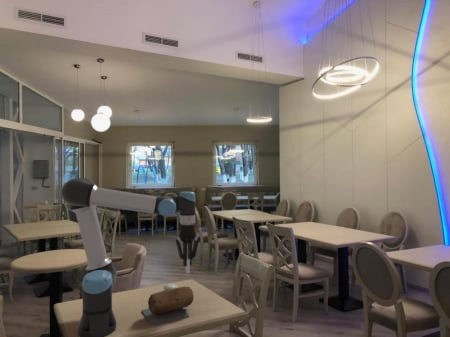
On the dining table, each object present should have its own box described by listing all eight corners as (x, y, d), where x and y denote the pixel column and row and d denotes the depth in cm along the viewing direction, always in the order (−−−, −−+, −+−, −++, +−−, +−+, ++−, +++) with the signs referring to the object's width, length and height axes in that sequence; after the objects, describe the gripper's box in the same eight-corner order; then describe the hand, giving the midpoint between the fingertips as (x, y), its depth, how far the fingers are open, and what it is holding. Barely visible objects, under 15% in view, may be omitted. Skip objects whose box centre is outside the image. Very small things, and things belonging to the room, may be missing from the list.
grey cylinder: (166, 305, 168) (166, 289, 168) (161, 300, 174) (161, 285, 174) (179, 302, 171) (179, 286, 171) (174, 297, 178) (174, 282, 178)
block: (191, 283, 163) (150, 291, 153) (196, 298, 158) (154, 307, 148) (185, 295, 169) (145, 303, 159) (189, 309, 164) (149, 318, 154)
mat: (150, 325, 147) (150, 323, 147) (141, 311, 161) (141, 310, 161) (189, 316, 155) (189, 315, 155) (177, 304, 169) (177, 303, 169)
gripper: (177, 225, 157) (177, 276, 157) (203, 223, 163) (202, 272, 163) (172, 223, 163) (171, 272, 163) (197, 221, 169) (196, 268, 169)
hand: (187, 272), depth 163 cm, fingers closed
